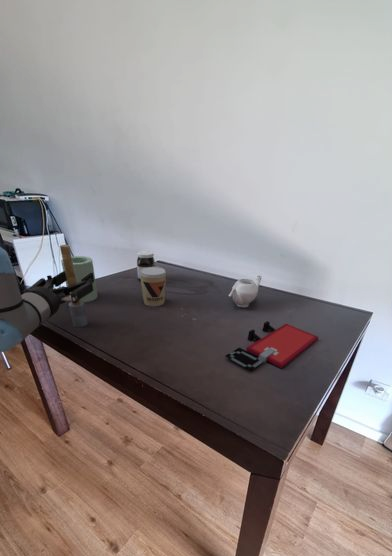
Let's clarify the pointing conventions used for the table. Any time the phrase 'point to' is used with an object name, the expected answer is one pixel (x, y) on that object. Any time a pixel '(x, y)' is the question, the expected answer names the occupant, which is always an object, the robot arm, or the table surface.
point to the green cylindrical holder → (83, 274)
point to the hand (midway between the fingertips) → (79, 276)
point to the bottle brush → (75, 309)
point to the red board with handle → (273, 346)
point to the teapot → (245, 291)
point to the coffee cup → (153, 285)
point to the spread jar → (145, 261)
